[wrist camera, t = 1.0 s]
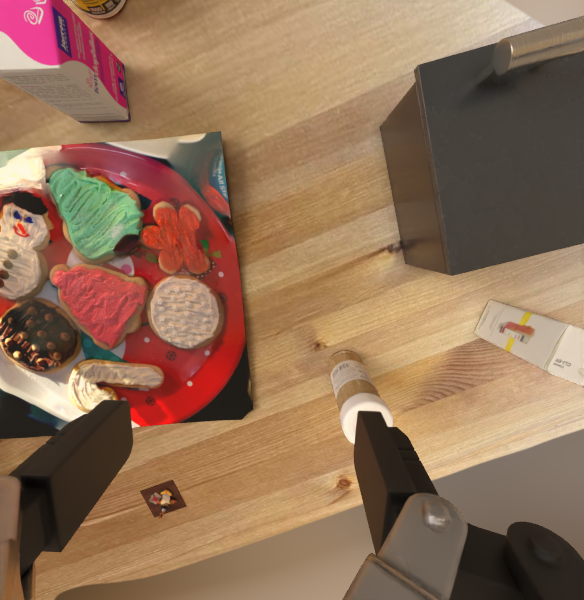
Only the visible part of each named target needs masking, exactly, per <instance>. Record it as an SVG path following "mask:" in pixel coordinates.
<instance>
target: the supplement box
mask: <svg viewBox="0 0 584 600" xmlns="http://www.w3.org/2000/svg"><path fill="white" fill-rule="evenodd" d="M0 78H2V79H4V80H5V81H7V82H9V83H11V84H13V85H14V86H16V87H18V88H20V89H22V90H23V91H25V92H27V93H29V94H31V95H32V96H34V97H36V98H38V99H40V100H41V101H43V102H45V103H47V104H48V105H50V106H52V107H54V108H55V109H57V110H59V111H61V112H63V113H64V114H66V115H68V116H70V117H72V118H73V119H75V120H77V121H79V122H81V123H82V122H84V123H89V122H126V121H130V116H129V110H128V103H127V94H126V85H125V73H124V65H123V64H122V63H121V62H120V60H119V59H118V58H117V57H116V56H115V55H114V54H113V53H112V52H111V51H110V50H109V49H108V48H107V47H106V46H105V45H104V44H103V43H102V42H101V40H100V39H99V38H98V37H97V36H96V35H95V34H94V33H93V32H92V31H91V30H90V29H89V28H88V27H87V26H86V25H85V24H84V22H83V21H82V20H81V19H80V18H79V17H78V16H77V15H76V14H75V13H74V12H73V11H72V10H71V9H70V8H69V7H68V6H67V5H66V4H65V3H64V1H63V0H0Z"/></svg>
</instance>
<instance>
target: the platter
mask: <svg viewBox="0 0 584 600" xmlns="http://www.w3.org/2000/svg"><path fill="white" fill-rule="evenodd" d="M103 400H126V401H128V402H129V404H130V410H131V422H132V428H134V427H142V426H151V425H162V424H175V423H187V422H201V421H216V420H242V419H243V417H244V416H245V415H246V414H247V413H248V412H250V411H251V410H253V401H252V392H251V383H250V374H249V365H248V356H247V347H246V337H245V326H244V314H243V302H242V291H241V281H240V272H239V264H238V257H237V251H236V244H235V238H234V232H233V227H232V221H231V215H230V209H229V201H228V194H227V185H226V176H225V167H224V158H223V148H222V139H221V131H219V132H211V133H202V134H194V135H186V136H178V137H169V138H160V139H149V140H137V141H121V142H101V143H84V144H70V145H58V146H48V147H37V148H28V149H19V150H10V151H2V152H0V439H9V438H26V437H40V436H54V435H56V433H57V432H58V431H60V430H61V429H62V428H63V427H64V426H65V425H66V424H68V423H69V422H71V421H73V420H75V419H76V418H78V417H80V416H82V415H84V414H88V413H89V412H90V411H91V410H92V409H94V408H95V407H96V406H97V405H98V404H99V403H100V402H101V401H103Z"/></svg>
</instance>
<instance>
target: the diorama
mask: <svg viewBox="0 0 584 600" xmlns="http://www.w3.org/2000/svg"><path fill="white" fill-rule="evenodd" d="M140 492H141V494H142V496H143V498H144V499H145V501H146V503H147V505H148V506H149V508H150V510H151V512H152V514H153V515H154V517H157V516H160V517H159V519H160V518H161V517H162V516H163V514H166V513H168V512H171V511H174V510H177V509H180V508H183V507H186V505H185V503H184V501H183V499H182V497H181V495H180V494H179V492H178V490H177V488H176V486H175V484H174V482H173V480H171V481H169V482H166V483H163V484H160V485H157V486H154V487H151V488H149V489H146V490H143V491H140Z"/></svg>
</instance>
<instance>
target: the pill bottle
mask: <svg viewBox="0 0 584 600" xmlns="http://www.w3.org/2000/svg"><path fill="white" fill-rule="evenodd" d="M71 1H72V2H73V3H74V4H75V5H76V6H77V7H78V8H79V9H80V10H81V11H83V12H84V13H86V14H87V15H89V16H91V17H94V18H108V17H111V16H113V15H115V14H116V13H118V12H119V11H120V9H121V8H122V7H123V5H124V3H125V1H126V0H71Z"/></svg>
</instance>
